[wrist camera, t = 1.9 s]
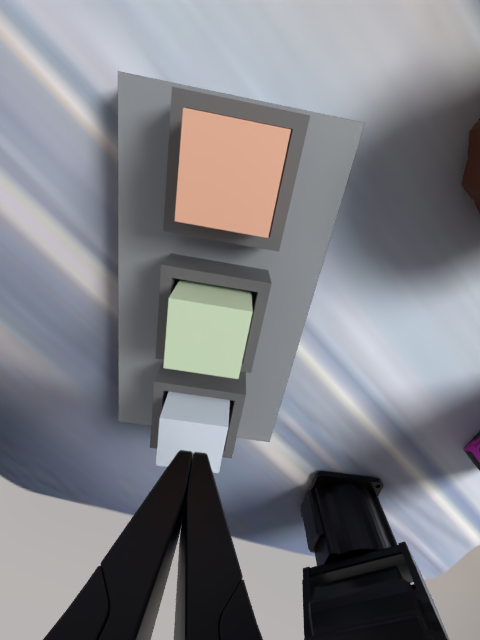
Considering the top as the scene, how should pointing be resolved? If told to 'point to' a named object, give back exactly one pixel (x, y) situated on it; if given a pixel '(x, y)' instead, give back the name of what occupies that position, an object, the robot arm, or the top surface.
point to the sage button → (207, 328)
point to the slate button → (192, 427)
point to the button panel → (219, 250)
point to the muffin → (473, 166)
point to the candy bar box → (474, 451)
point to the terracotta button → (229, 172)
